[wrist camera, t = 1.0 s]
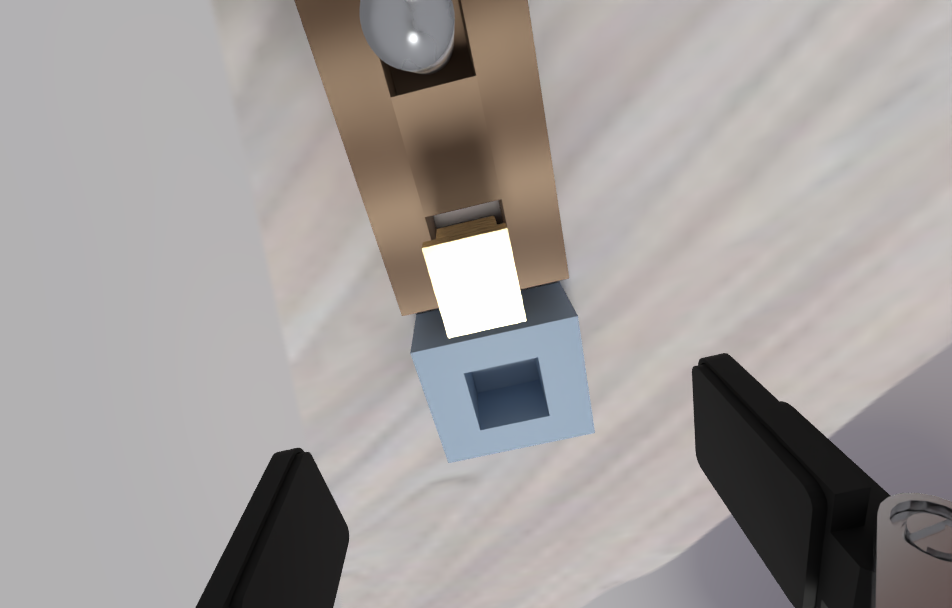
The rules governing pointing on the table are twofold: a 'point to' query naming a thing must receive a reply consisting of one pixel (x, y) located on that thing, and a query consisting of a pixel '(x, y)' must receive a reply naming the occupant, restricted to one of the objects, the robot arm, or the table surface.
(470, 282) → the key
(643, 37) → the table surface
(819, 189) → the table surface
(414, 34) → the steel peg
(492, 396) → the blue square hole block
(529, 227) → the socket block
